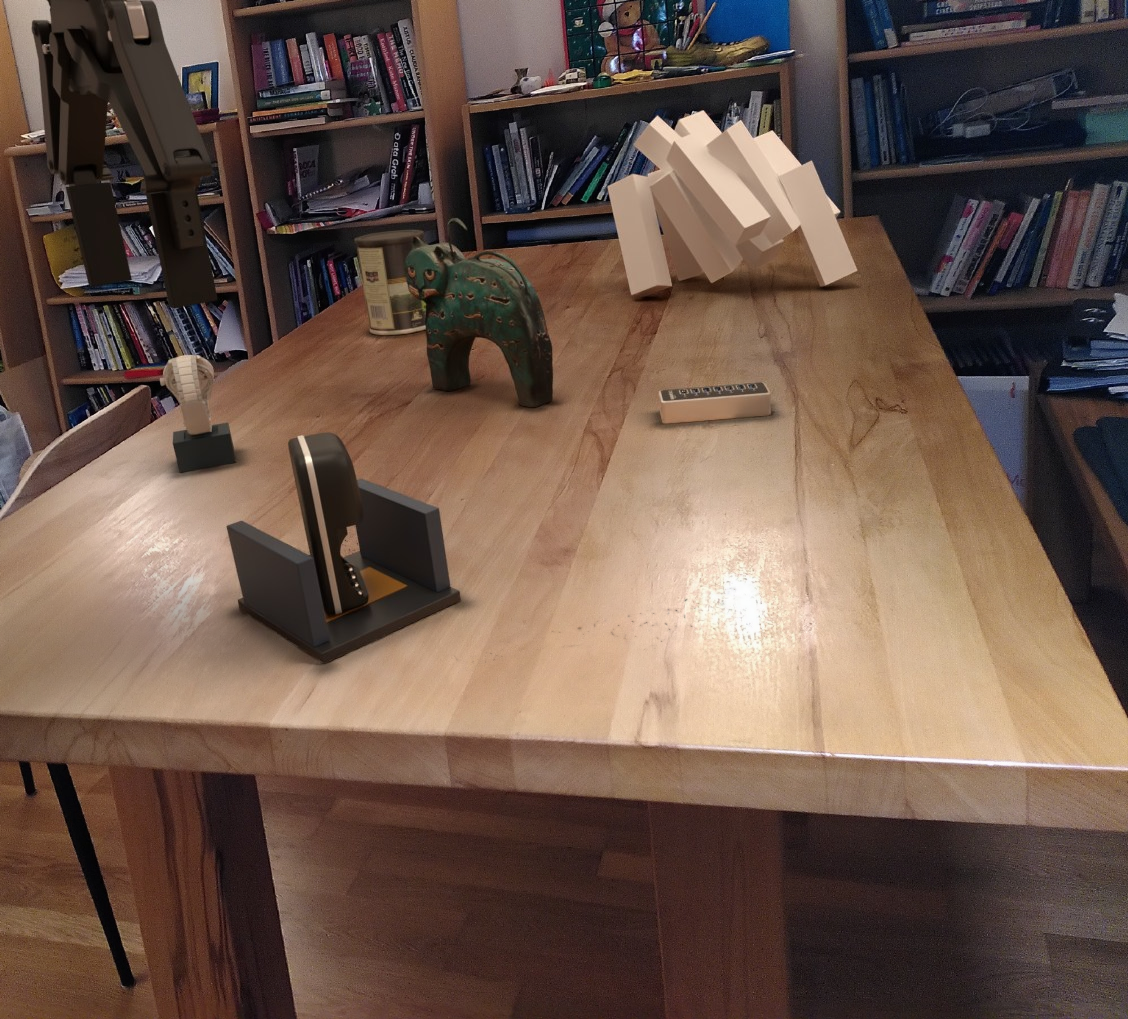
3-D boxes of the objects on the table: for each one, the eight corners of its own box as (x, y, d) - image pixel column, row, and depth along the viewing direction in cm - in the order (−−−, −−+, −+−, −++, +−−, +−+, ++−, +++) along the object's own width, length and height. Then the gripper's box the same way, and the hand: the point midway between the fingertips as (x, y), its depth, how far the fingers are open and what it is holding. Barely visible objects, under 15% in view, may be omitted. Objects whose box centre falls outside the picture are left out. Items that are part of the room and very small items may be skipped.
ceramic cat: (416, 389, 126) (391, 219, 119) (457, 376, 130) (436, 211, 123) (529, 413, 113) (509, 223, 105) (570, 397, 117) (554, 214, 110)
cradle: (238, 609, 75) (218, 522, 72) (369, 556, 81) (354, 475, 79) (323, 664, 66) (304, 568, 64) (461, 600, 73) (448, 511, 70)
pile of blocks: (843, 296, 178) (767, 108, 179) (887, 252, 149) (795, 26, 150) (653, 372, 180) (578, 185, 181) (659, 344, 150) (569, 121, 151)
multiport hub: (771, 415, 105) (771, 393, 104) (662, 423, 105) (661, 402, 105) (764, 402, 109) (764, 381, 108) (659, 411, 109) (658, 389, 109)
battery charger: (383, 608, 71) (355, 449, 66) (326, 621, 70) (294, 461, 65) (366, 569, 77) (340, 421, 73) (314, 580, 76) (284, 431, 72)
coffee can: (443, 318, 165) (431, 227, 159) (425, 333, 155) (412, 237, 150) (381, 322, 167) (367, 231, 161) (360, 337, 157) (344, 242, 152)
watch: (233, 445, 112) (211, 344, 108) (236, 467, 105) (212, 360, 101) (179, 455, 110) (154, 353, 106) (178, 478, 103) (152, 370, 99)
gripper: (228, -119, 53) (296, 302, 61) (62, -53, 70) (133, 267, 78) (76, -129, 48) (171, 327, 56) (-61, -56, 65) (27, 284, 74)
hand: (149, 293), depth 67 cm, fingers open, 13 cm apart
